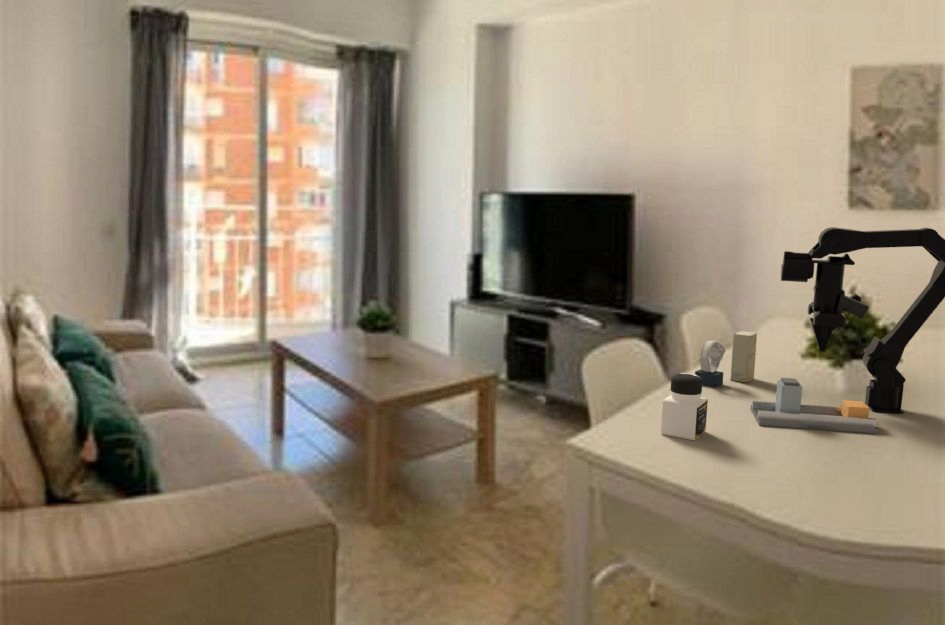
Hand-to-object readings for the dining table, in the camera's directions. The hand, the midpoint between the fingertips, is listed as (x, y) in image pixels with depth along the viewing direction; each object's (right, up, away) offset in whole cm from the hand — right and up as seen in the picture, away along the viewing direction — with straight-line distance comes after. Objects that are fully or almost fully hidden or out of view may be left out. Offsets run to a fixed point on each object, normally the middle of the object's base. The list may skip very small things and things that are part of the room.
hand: (822, 351), depth 182 cm
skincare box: (-11, -9, +22) cm, 26 cm away
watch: (-21, -9, +17) cm, 29 cm away
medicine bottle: (-38, -16, -22) cm, 46 cm away
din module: (-13, -13, -12) cm, 22 cm away
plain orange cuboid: (+1, -13, -14) cm, 19 cm away
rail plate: (-8, -14, -12) cm, 20 cm away
